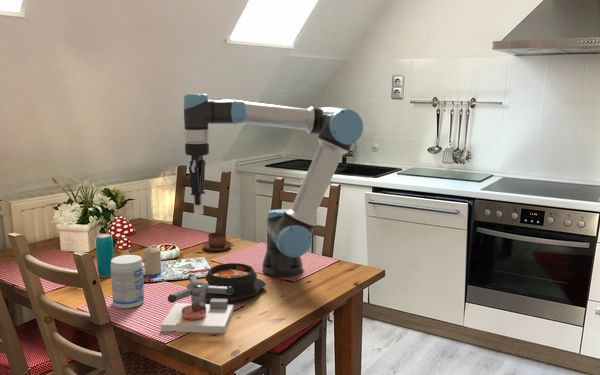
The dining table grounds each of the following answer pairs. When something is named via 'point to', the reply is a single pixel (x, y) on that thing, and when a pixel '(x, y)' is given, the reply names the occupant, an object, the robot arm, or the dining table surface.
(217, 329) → the stand
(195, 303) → the capstan
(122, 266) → the supplement tub
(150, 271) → the candle
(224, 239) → the cup and saucer
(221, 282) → the casserole
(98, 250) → the beverage can
